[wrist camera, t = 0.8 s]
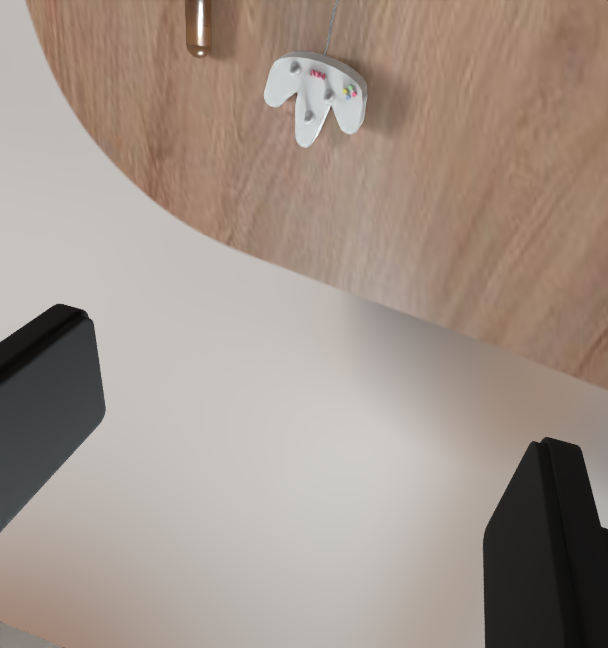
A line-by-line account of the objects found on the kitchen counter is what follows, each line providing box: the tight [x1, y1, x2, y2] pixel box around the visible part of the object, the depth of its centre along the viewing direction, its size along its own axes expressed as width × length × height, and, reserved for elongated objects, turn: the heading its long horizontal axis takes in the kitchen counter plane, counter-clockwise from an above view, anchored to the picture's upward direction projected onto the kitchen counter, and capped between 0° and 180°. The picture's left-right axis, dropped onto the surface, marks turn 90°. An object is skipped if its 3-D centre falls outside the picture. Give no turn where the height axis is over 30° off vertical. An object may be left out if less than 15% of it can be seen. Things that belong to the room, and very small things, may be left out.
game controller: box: [264, 0, 367, 147], centre depth 26 cm, size 6×12×3 cm, turn 3°
